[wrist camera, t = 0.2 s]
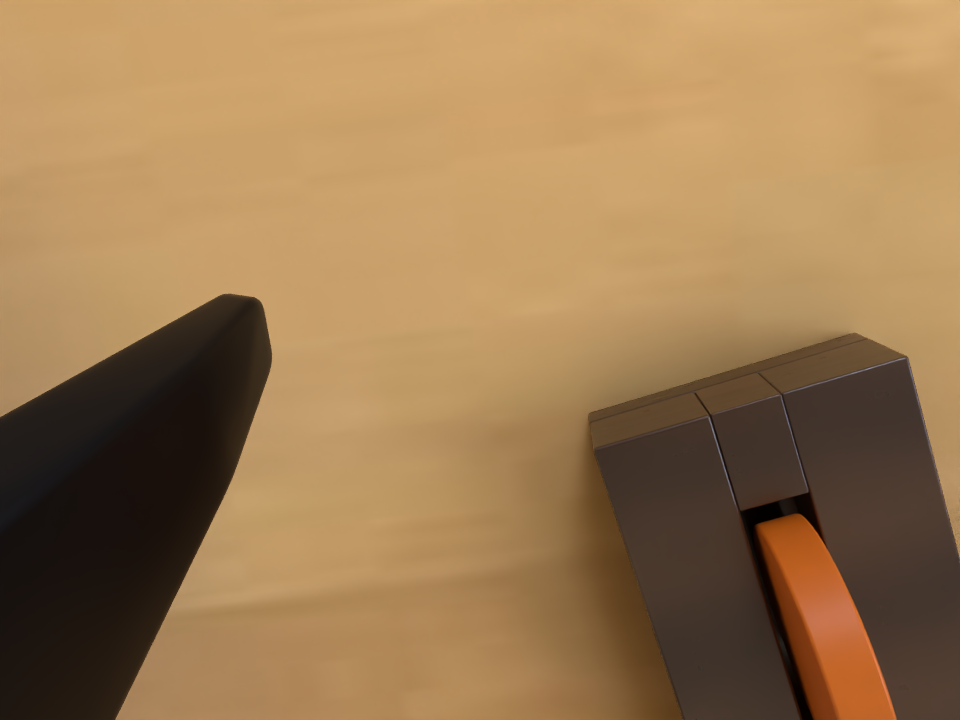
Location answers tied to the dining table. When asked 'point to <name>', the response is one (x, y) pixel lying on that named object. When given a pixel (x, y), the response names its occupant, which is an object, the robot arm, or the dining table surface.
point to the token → (819, 624)
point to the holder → (777, 493)
